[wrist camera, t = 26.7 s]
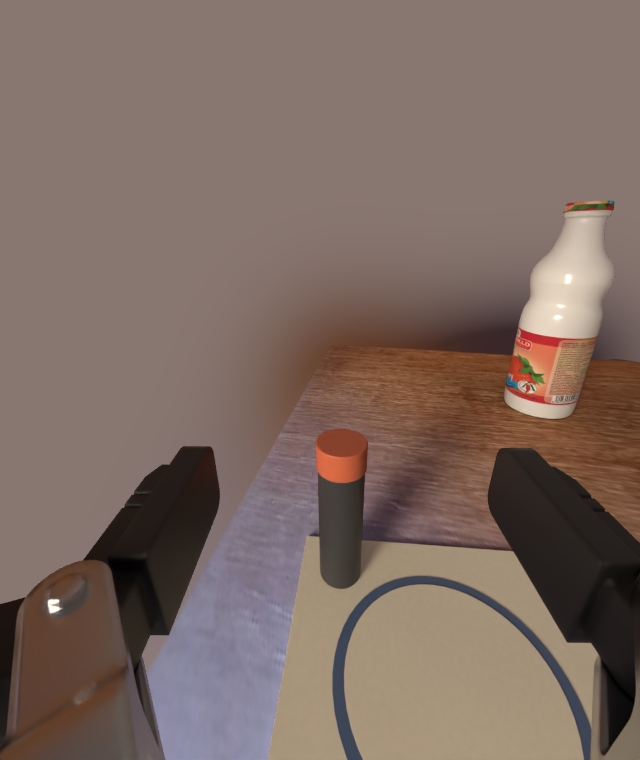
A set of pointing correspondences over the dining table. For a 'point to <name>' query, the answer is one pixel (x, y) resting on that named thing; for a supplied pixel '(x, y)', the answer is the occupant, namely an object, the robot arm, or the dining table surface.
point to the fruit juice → (562, 316)
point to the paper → (430, 663)
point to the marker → (341, 504)
